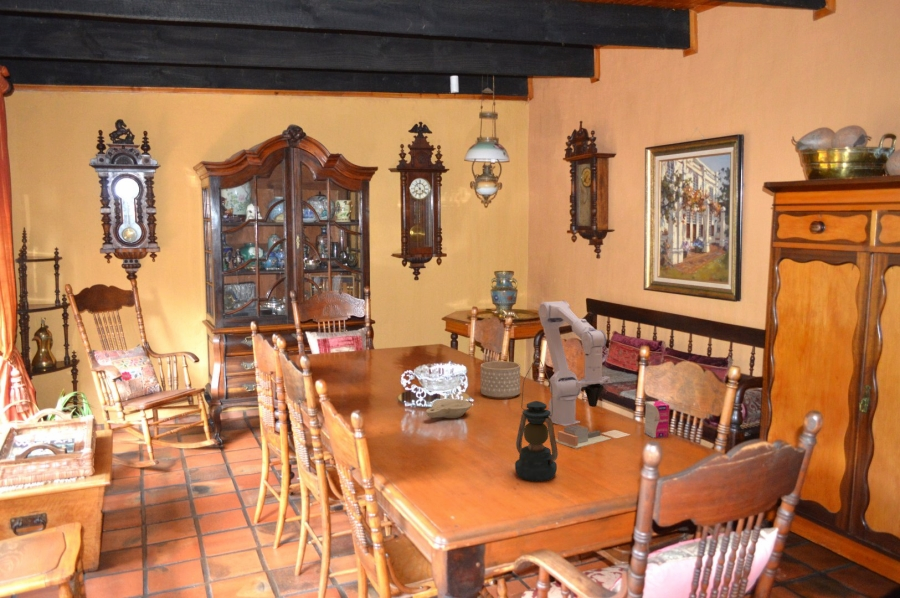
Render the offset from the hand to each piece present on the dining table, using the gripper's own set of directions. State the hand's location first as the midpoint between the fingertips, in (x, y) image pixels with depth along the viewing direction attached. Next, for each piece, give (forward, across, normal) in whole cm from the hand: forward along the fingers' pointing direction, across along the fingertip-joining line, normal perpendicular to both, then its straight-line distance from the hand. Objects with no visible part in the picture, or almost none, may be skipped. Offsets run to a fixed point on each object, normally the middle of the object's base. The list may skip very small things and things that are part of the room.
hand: (592, 406), depth 247 cm
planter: (+10, +11, +62) cm, 64 cm away
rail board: (+10, -7, -3) cm, 12 cm away
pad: (+10, +6, -5) cm, 13 cm away
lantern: (+10, -42, -18) cm, 47 cm away
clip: (+9, -11, -3) cm, 15 cm away
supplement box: (+10, +16, -14) cm, 24 cm away
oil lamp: (+10, -27, +47) cm, 55 cm away
